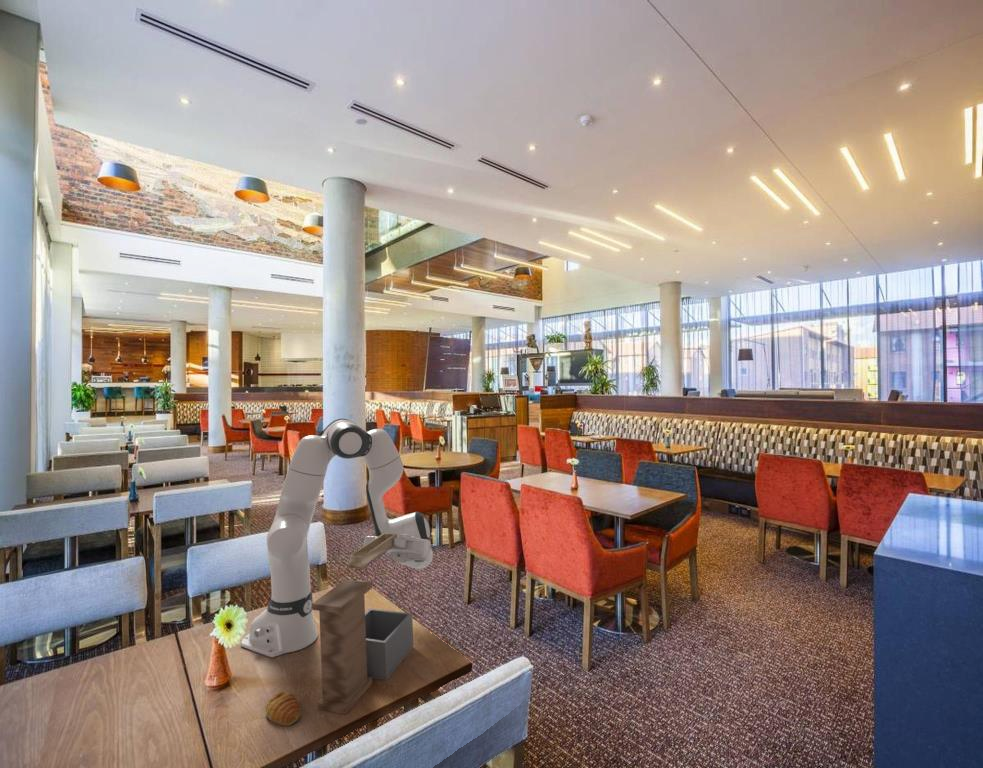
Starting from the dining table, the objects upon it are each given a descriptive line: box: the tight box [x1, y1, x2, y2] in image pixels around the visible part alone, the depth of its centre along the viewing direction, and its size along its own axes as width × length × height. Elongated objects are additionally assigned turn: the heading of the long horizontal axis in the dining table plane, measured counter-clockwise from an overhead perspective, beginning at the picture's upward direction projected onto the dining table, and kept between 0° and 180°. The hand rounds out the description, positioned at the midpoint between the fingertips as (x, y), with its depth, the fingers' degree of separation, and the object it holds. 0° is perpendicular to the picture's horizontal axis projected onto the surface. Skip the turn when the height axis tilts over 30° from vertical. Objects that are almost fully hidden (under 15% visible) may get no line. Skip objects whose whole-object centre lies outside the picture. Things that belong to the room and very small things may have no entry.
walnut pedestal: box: [312, 579, 373, 715], centre depth 122 cm, size 8×14×26 cm, turn 163°
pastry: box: [265, 691, 302, 727], centre depth 115 cm, size 9×7×4 cm
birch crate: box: [347, 533, 397, 570], centre depth 136 cm, size 4×19×3 cm, turn 163°
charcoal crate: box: [365, 608, 414, 681], centre depth 136 cm, size 14×16×10 cm
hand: (385, 540), depth 142 cm, fingers closed on birch crate, 4 cm apart
